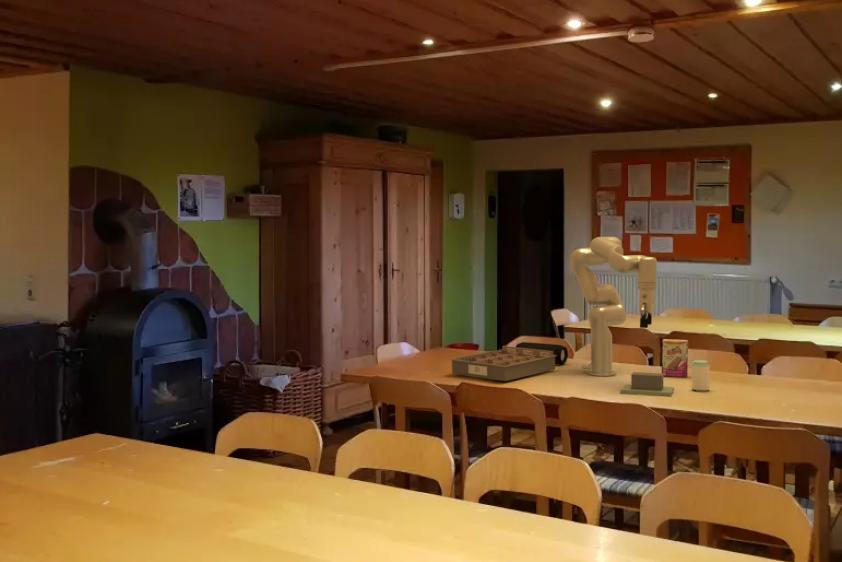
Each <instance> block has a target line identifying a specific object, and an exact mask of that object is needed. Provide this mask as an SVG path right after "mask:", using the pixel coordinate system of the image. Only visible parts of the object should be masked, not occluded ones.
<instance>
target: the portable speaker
mask: <svg viewBox="0 0 842 562" xmlns="http://www.w3.org/2000/svg"><path fill="white" fill-rule="evenodd" d="M515 347H518V348H527V349H537V350H546V351H553V355H557V356H555V364H561V365H564V364H566V363H567V360H568V358H569V351H568V348H567V347H566V346H564V345H562V344H554V343H541V342H539V343H538V342H531V341H530V342H529V341H527V342H526V341H522V342H519V343H516V344H515Z"/></svg>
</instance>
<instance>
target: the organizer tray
mask: <svg viewBox="0 0 842 562" xmlns="http://www.w3.org/2000/svg"><path fill="white" fill-rule="evenodd" d="M555 356H557V355H553V351H546V350H537V349H527V348H518V347H516V346H507V345H502V349H498V350H492V351H487V352H482V353H477V354H472V355H471V354H470V355H465V356H460V357H456V358H450V359H449V360H450V361H451V372H452V373H451V374H453V375H459V376H460V375H461V376H467V377H473V378H482V379H486V380H487V379H489V380H493V381H502V382H507V381H511V380H515V379H520V378H525V377H527V376H531V375H537V374H541V373H544V372H549V371H550V372H551V371H554V370H556V365H555Z"/></svg>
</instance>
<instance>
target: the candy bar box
mask: <svg viewBox="0 0 842 562" xmlns="http://www.w3.org/2000/svg"><path fill="white" fill-rule="evenodd" d="M661 342H662V345H661V373H663V377H667V376H669V378H670V377H671V378H688V375H689V374H688V373H689V371H688V370H689V369H688V367H689V363H688V362H689V340H687V339H670V338H667V339H666V338H665V339H664V338H663V339H662V341H661Z"/></svg>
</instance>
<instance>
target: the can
mask: <svg viewBox="0 0 842 562" xmlns="http://www.w3.org/2000/svg"><path fill="white" fill-rule="evenodd" d="M710 368H711V366H710V364H709V361H708V360H705V359H704V360H701V359H700V360H698V359H697V360H696V359H695V360H693V361H692V364H691V389H692V390H693V391H695V390H696V391H695V392H708V391H709V390H710V378H711V377H710V376H711V375H710V374H711V372H710Z"/></svg>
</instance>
